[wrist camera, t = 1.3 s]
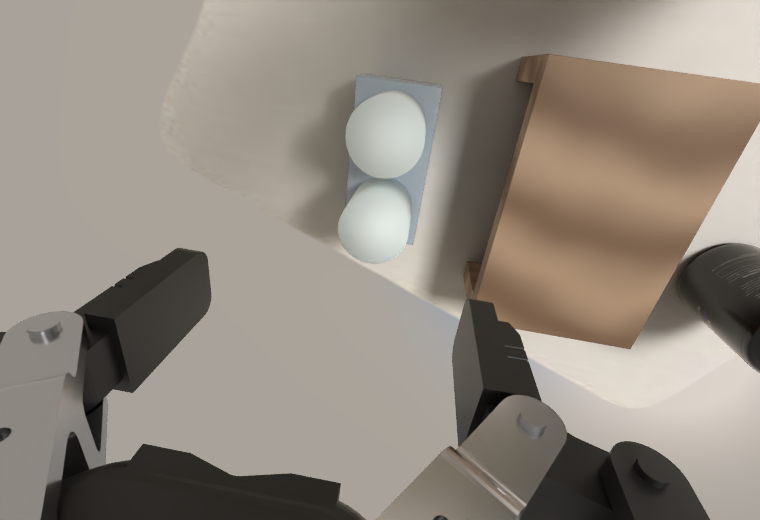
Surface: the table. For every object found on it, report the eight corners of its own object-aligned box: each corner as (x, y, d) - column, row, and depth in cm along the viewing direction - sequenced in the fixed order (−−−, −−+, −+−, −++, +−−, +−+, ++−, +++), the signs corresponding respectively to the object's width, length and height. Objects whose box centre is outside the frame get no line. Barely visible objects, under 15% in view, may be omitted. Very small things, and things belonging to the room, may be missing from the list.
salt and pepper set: (368, 74, 28) (339, 77, 20) (441, 84, 28) (444, 92, 19) (354, 211, 34) (326, 262, 25) (415, 221, 33) (409, 277, 24)
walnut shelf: (522, 57, 27) (549, 54, 20) (697, 81, 26) (779, 86, 20) (463, 275, 35) (470, 320, 29) (594, 298, 34) (630, 349, 28)
